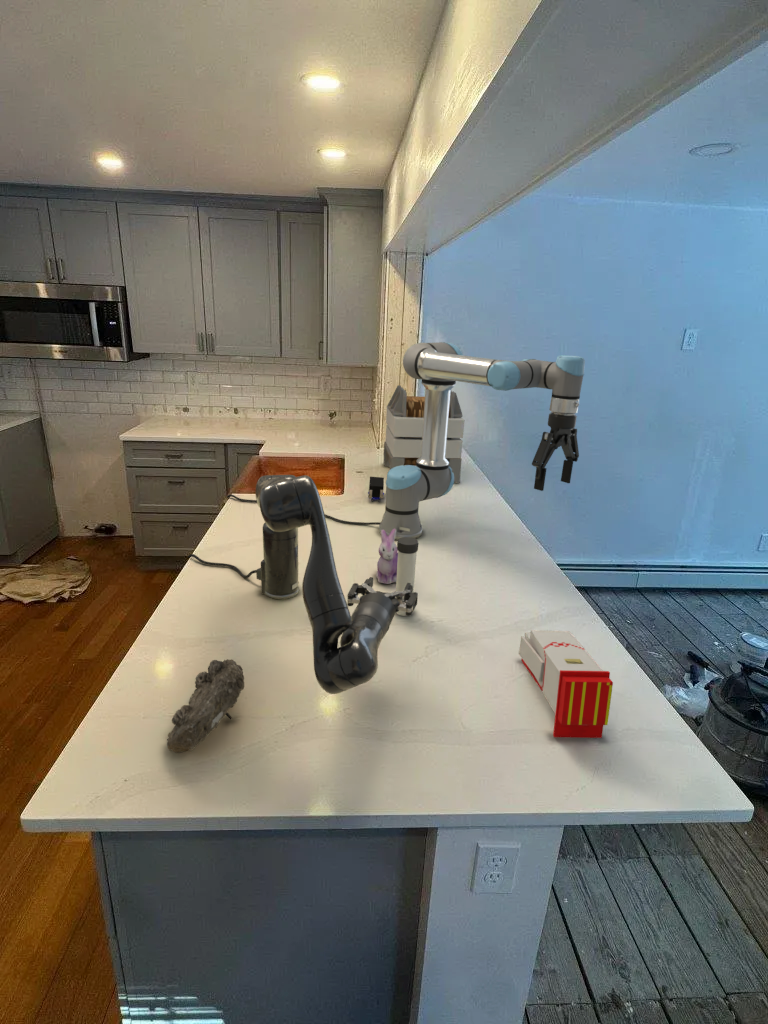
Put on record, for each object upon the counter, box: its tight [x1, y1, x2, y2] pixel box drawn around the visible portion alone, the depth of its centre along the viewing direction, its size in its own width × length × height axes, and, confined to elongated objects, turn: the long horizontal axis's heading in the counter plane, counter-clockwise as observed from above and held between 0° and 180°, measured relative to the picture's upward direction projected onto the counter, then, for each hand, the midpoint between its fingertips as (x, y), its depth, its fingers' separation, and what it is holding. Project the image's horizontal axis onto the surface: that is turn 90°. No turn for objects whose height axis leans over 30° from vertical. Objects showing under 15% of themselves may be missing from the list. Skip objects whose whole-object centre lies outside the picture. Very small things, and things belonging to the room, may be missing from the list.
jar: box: [395, 551, 417, 617], centre depth 146 cm, size 5×5×20 cm
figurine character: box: [367, 476, 385, 503], centre depth 235 cm, size 7×8×15 cm
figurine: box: [375, 529, 398, 585], centre depth 164 cm, size 9×10×15 cm
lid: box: [396, 537, 419, 554], centre depth 143 cm, size 5×5×2 cm
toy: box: [518, 629, 614, 739], centre depth 118 cm, size 12×13×30 cm
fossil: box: [166, 658, 245, 754], centre depth 106 cm, size 22×10×15 cm
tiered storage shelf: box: [383, 384, 465, 484], centre depth 268 cm, size 34×33×41 cm
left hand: (390, 583), depth 126 cm, fingers open, 8 cm apart
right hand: (552, 485), depth 166 cm, fingers open, 13 cm apart
